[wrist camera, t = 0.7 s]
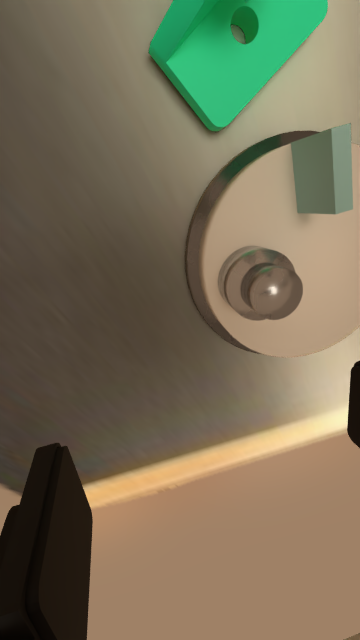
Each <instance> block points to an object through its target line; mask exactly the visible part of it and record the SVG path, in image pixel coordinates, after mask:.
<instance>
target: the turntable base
mask: <svg viewBox="0 0 360 640" xmlns="http://www.w3.org/2000/svg"><path fill="white" fill-rule="evenodd" d="M317 133H320V132H316V131H293V132H288V133H283V134H279V135H276V136H273V137H270V138H267V139H265V140H262V141H260V142H258V143H256V144H254V145H253V146H251V147H249V148H247V149H245V150H244V151H243V152H241V153H240V154H238V155H237V156H236V157H234V158H233V159H232V160H231V161H230V162H229V163H227V164H226V165H225V166H224V167H223V168H222V169H221V170H220V171H219V173H218V174H217V175H216V176H215V177H214V179H213V180H212V181H211V182H210V184H209V185H208V187H207V189H206V190H205V192H204V193H203V195H202V196H201V199H200V201H199V203H198V205H197V207H196V209H195V211H194V214H193V217H192V220H191V223H190V226H189V231H188V236H187V241H186V251H185V266H186V276H187V281H188V286H189V289H190V292H191V295H192V298H193V301H194V303H195V305H196V307H197V309H198V311H199V312H200V314H201V315H202V316H203V318H204V319H205V321H206V322H207V323H208V324H209V326H210V327H211V328H212V329H213V330H214V331H215V332H216V333H217V334H218V335H220V336H221V337H222V338H223V339H224V340H226V341H228V342H229V343H231V344H233V345H234V346H236V347H239V348H241V349H244V350H246V351H250V352H254V353H259V352H256V351H254V350H251V349H249V348H248V347H246V346H244V345H243V344H241V343H240V342H239V341H237V340H236V339H235V338H234V337H233V336H232V335H231V334H230V333H229V332H228V331H227V330H226V329H225V328H224V327H223V326H222V324H221V323H220V322H219V321H218V320H217V319H216V317H215V316H214V314H213V313H212V311H211V310H210V308H209V306H208V304H207V302H206V299H205V297H204V294H203V291H202V287H201V283H200V277H199V262H198V258H199V247H200V241H201V236H202V232H203V228H204V226H205V223H206V220H207V217H208V215H209V213H210V211H211V208H212V206H213V204H214V202H215V201H216V199H217V198H218V196H219V195H220V193H221V191H222V190H223V189H224V187H225V186H226V185H227V184H228V183H229V181H230V180H231V179H232V178H233V177H234V176H235V175H236V174H237V173H238V172H239V171H240V170H241V169H242V168H243V167H244V166H246V165H247V164H249V163H250V162H251V161H253V160H254V159H256V158H257V157H259V156H261V155H263V154H265V153H267V152H269V151H271V150H274V149H276V148H279V147H282V146H285V145H288V144H291V143H292V142H294V141H297V140H300V139H303V138H306V137H308V136H311V135H314V134H317ZM260 354H261V353H260Z"/></svg>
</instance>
